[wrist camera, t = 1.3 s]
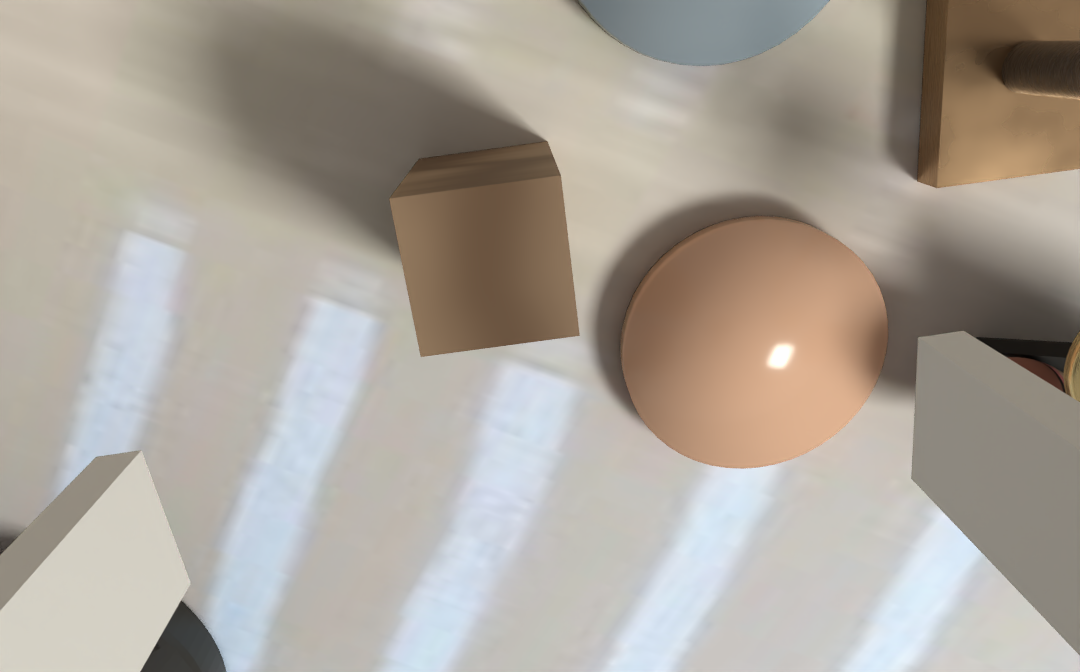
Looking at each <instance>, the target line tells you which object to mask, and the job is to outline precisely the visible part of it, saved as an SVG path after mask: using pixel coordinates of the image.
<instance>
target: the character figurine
mask: <svg viewBox="0 0 1080 672" xmlns="http://www.w3.org/2000/svg"><path fill="white" fill-rule="evenodd" d="M976 339H978V340H979V341H981V342H983V343H984V344H986V345H988V346H989V347H991V348H992V349H994V350H996V351H997V352H999V353H1001V354H1002V355H1004V356H1005V357H1007V358H1009V359H1010V360H1012V361H1014V362H1015V363H1017V364H1018V365H1020V366H1022V367H1023V368H1025V369H1027V370H1028V371H1030V372H1031V373H1033V374H1035V375H1036V376H1038V377H1040V378H1041V379H1043V380H1044V381H1046V382H1048V383H1049V384H1051V385H1053V386H1054V387H1056V388H1057V389H1059V390H1061V391H1062V392H1064V393H1066V392H1065V388H1064V380H1063V376H1064V366H1065V361H1066V358H1067V355H1068V352H1069V349H1070V347H1071V345H1072V343H1069V342H1052V341H1034V340H1016V339H999V338H981V337H976Z"/></svg>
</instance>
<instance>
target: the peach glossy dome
mask: <svg viewBox="0 0 1080 672" xmlns="http://www.w3.org/2000/svg"><path fill="white" fill-rule="evenodd" d="M887 341H888V319H887V313H886V307H885V303H884V300H883V297H882V294H881V291H880V288H879V286H878V284H877V282H876V280H875V279H874V277H873V275H872V273H871V272H870V271H869V269H868V268H867V267H866V265H865V264H864V262H863V261H862V260H861V259H860V258H859V257H858V256H857V255H856V254H855V253H854V252H853V251H852V250H850V249H849V248H848V247H846V246H845V245H844V244H842V243H841V242H839V241H838V240H836V239H835V238H833V237H831V236H830V235H828V234H826V233H825V232H823V231H821V230H819V229H817V228H815V227H813V226H811V225H808V224H805V223H802V222H800V221H797V220H792V219H787V218H782V217H773V216H752V217H742V218H737V219H732V220H727V221H723V222H720V223H717V224H714V225H711V226H709V227H707V228H704V229H702V230H700V231H698V232H696V233H694V234H692V235H690V236H689V237H687V238H686V239H684V240H683V241H681V242H679V243H678V244H677V245H675V246H674V247H673V248H672V249H670V250H669V251H668V252H667V253H666V254H664V255H663V256H662V257H661V258H660V259H659V260H658V261H657V262H656V264H655V265H654V266H653V267H652V268H651V269H650V270H649V272H648V273H647V274H646V276H645V277H644V278H643V280H642V281H641V283H640V284H639V286H638V288H637V290H636V291H635V293H634V295H633V297H632V299H631V302H630V304H629V307H628V309H627V312H626V315H625V319H624V323H623V327H622V334H621V342H620V352H621V364H622V370H623V375H624V378H625V381H626V384H627V388H628V391H629V393H630V396H631V399H632V402H633V404H634V406H635V408H636V410H637V412H638V414H639V415H640V417H641V418H642V420H643V421H644V423H645V424H646V425H647V427H648V428H649V429H650V430H651V431H652V432H653V433H654V434H655V435H656V436H657V438H659V439H660V440H661V441H662V442H664V443H665V444H666V445H667V446H669V447H670V448H672V449H673V450H675V451H677V452H678V453H680V454H682V455H684V456H686V457H688V458H691V459H693V460H695V461H698V462H702V463H705V464H709V465H712V466H719V467H725V468H756V467H763V466H768V465H774V464H778V463H781V462H784V461H787V460H791V459H793V458H795V457H798V456H800V455H802V454H805V453H807V452H809V451H811V450H812V449H814V448H816V447H818V446H819V445H821V444H823V443H824V442H825V441H827V440H828V439H830V438H831V437H832V436H834V435H835V434H836V433H837V432H839V431H840V430H841V429H842V428H843V427H844V426H845V425H846V424H848V422H849V421H850V420H851V419H852V418H853V417H854V416H855V415H856V413H857V412H858V411H859V410H860V409H861V407H862V406H863V404H864V403H865V401H866V400H867V399H868V397H869V395H870V393H871V392H872V390H873V388H874V386H875V384H876V382H877V380H878V377H879V375H880V372H881V370H882V367H883V363H884V359H885V355H886V350H887Z"/></svg>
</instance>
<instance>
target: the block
mask: <svg viewBox="0 0 1080 672" xmlns="http://www.w3.org/2000/svg"><path fill="white" fill-rule="evenodd" d="M389 201H390V206H391V211H392V216H393V221H394V226H395V231H396V236H397V241H398V246H399V250H400V255H401V260H402V265H403V270H404V275H405V280H406V285H407V290H408V295H409V300H410V305H411V310H412V315H413V320H414V325H415V330H416V335H417V340H418V345H419V350H420V355H421V357H424V356H431V355H439V354H446V353H453V352H461V351H468V350H476V349H483V348H491V347H498V346H506V345H513V344H521V343H528V342H535V341H543V340H550V339H558V338H565V337H573V336H580V335H579V327H578V318H577V309H576V301H575V292H574V284H573V275H572V267H571V258H570V250H569V241H568V233H567V224H566V216H565V207H564V199H563V190H562V182H561V175H560V172H559V170H558V167H557V165H556V162H555V160H554V157H553V155H552V152H551V150H550V147H549V144H548V142H547V141H546V142H539V143H531V144H524V145H517V146H509V147H502V148H495V149H487V150H480V151H473V152H465V153H458V154H451V155H443V156H436V157H429V158H421V159H418V161H417V162H416V163H415V165H414V166H413V167H412V169H411V170H410V171H409V173H408V174H407V175H406V177H405V178H404V179H403V181H402V182H401V183H400V185H399V186H398V187H397V189H396V190H395V191H394V193H393V194H392V195H391V197H390V198H389Z"/></svg>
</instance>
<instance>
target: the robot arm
mask: <svg viewBox="0 0 1080 672" xmlns="http://www.w3.org/2000/svg"><path fill="white" fill-rule="evenodd" d="M911 479H912V480H913V481H914V482H915V483H916V484H917V485H918V486H919V487H920V488H921V489H922V490H923V491H924V492H925V493H926V494H927V495H928V496H929V498H930V499H931V500H932V501H933V502H934V503H935V504H936V505H937V506H938V507H939V508H940V509H941V510H942V511H943V512H944V513H945V514H946V515H947V516H948V517H949V519H950V520H951V521H952V522H953V523H954V524H955V525H956V526H957V527H958V528H959V529H960V530H961V531H962V532H963V533H964V534H965V535H966V536H967V537H968V539H969V540H970V541H971V542H972V543H973V544H974V545H975V546H976V547H977V548H978V549H979V550H980V551H981V552H982V553H983V554H984V555H985V556H986V557H987V558H988V560H989V561H990V562H991V563H992V564H993V565H994V566H995V567H996V568H997V569H998V570H999V571H1000V572H1001V573H1002V574H1003V575H1004V576H1005V577H1006V578H1007V580H1008V581H1009V582H1010V583H1011V584H1012V585H1013V586H1014V587H1015V588H1016V589H1017V590H1018V591H1019V592H1020V593H1021V594H1022V595H1023V596H1024V597H1025V598H1026V599H1027V601H1028V602H1029V603H1030V604H1031V605H1032V606H1033V607H1034V608H1035V609H1036V610H1037V611H1038V612H1039V613H1040V614H1041V615H1042V616H1043V617H1044V618H1045V619H1046V620H1047V622H1048V623H1049V624H1050V625H1051V626H1052V627H1053V628H1054V629H1055V630H1056V631H1057V632H1058V633H1059V634H1060V635H1061V636H1062V637H1063V638H1064V639H1065V640H1066V642H1067V643H1068V644H1069V645H1070V646H1071V647H1072V648H1073V649H1074V650H1075V651H1076V652H1077V653H1078V654H1079V655H1080V402H1079V401H1077V400H1075V399H1074V398H1072V397H1070V396H1069V395H1067V394H1066V393H1064V392H1062V391H1061V390H1059V389H1057V388H1056V387H1054V386H1053V385H1051V384H1049V383H1048V382H1046V381H1044V380H1043V379H1041V378H1040V377H1038V376H1036V375H1035V374H1033V373H1031V372H1030V371H1028V370H1027V369H1025V368H1023V367H1022V366H1020V365H1018V364H1017V363H1015V362H1014V361H1012V360H1010V359H1009V358H1007V357H1005V356H1004V355H1002V354H1001V353H999V352H997V351H996V350H994V349H992V348H991V347H989V346H988V345H986V344H984V343H983V342H981V341H979V340H978V339H976V338H975V337H973V336H971V335H970V334H968V333H966V332H965V331H958V332H951V333H944V334H937V335H931V336H924V337H918V350H917V371H916V392H915V413H914V434H913V455H912V476H911ZM190 584H191V582H190V580H189V577H188V574H187V572H186V569H185V566H184V564H183V561H182V558H181V556H180V553H179V550H178V548H177V545H176V542H175V540H174V537H173V534H172V531H171V529H170V526H169V523H168V521H167V518H166V515H165V513H164V510H163V507H162V505H161V502H160V499H159V497H158V494H157V491H156V488H155V486H154V483H153V480H152V478H151V475H150V472H149V470H148V467H147V464H146V462H145V459H144V456H143V454H142V451H141V450H140V451H134V452H127V453H120V454H113V455H106V456H99V457H96V458H95V459H94V460H93V461H92V462H91V463H90V464H89V465H88V466H87V467H86V468H85V469H84V470H83V471H82V472H81V473H80V474H79V475H78V476H77V477H76V478H75V479H74V480H73V481H72V482H71V483H70V484H69V485H68V486H67V487H66V488H65V489H64V490H63V491H62V492H61V493H60V494H59V495H58V496H57V498H56V499H55V500H54V501H53V502H52V503H51V504H50V505H49V506H48V507H47V508H46V509H45V510H44V511H43V512H42V513H41V514H40V515H39V516H38V517H37V518H36V519H35V520H34V521H33V522H32V523H31V524H30V525H29V526H28V527H27V528H26V529H25V530H24V531H23V532H22V533H21V534H20V535H19V536H18V538H17V539H16V540H15V541H14V542H13V543H12V544H11V545H10V546H9V547H8V548H7V549H6V550H5V551H4V552H3V553H2V554H1V555H0V672H226V669H225V665H224V662H223V659H222V656H221V654H220V651H219V649H218V647H217V645H216V643H215V641H214V640H213V638H212V636H211V635H210V633H209V632H208V630H207V629H206V628H205V626H204V625H203V624H202V622H201V621H200V620H199V619H198V618H197V617H196V615H195V614H194V613H193V612H192V611H191V610H190V609H189V608H188V607H187V606H185V605H184V604H183V603H182V602H181V599H182V598H183V596H184V594H185V592H186V591H187V589H188V587H189V585H190Z"/></svg>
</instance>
